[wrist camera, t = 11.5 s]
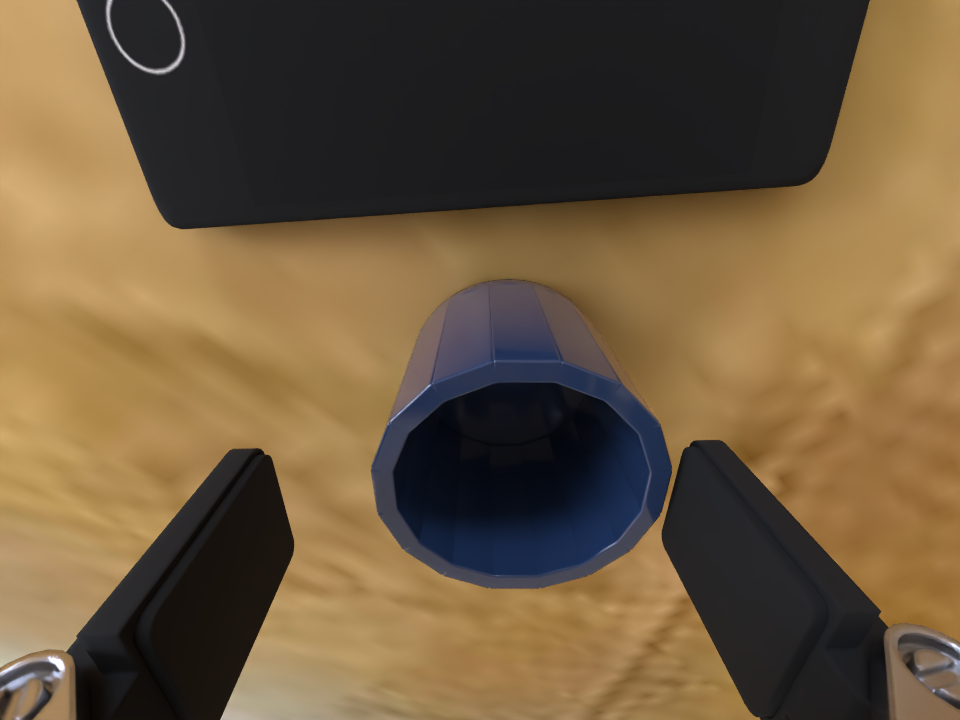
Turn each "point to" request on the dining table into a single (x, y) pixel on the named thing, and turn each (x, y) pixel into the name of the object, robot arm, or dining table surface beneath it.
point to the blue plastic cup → (517, 444)
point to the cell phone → (467, 100)
